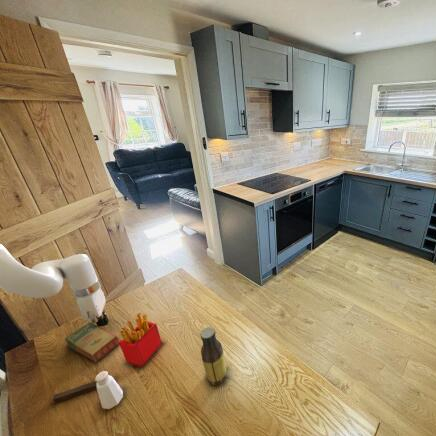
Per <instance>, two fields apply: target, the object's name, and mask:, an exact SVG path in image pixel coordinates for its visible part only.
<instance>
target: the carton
mask: <svg viewBox="0 0 436 436" xmlns="http://www.w3.org/2000/svg"><path fill="white" fill-rule="evenodd" d="M64 339H65V341H66V343H67V345H68V347H69V348H71V349H72V350H74V351H75V352H77V353H79V354H81V355H83V356H84V357H86V358H88V359H89V360H90V361H93V362H94V363H97V362H99V361H100V360H101V359H103V358H104V357H105V356H106V355H107V354H109V353H110V352H111V351H113V350H114V349H115V348H116V347H117V346H118V345H120V344H119V341H120V340H119V338H118V335H116V334H114V333H112V332H110V331H108V330H106V329H105V328H103V327H102V326H101V327H99V326H97V324H96V323H93V324H92V322H91V321H88V322H87V323H86V324H84V325H82V326H81V327H80V328H78V329H77V330H75V331H74V332H72V333H70V334H69V335H67V336H66V337H65V338H64Z"/></svg>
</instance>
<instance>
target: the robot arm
mask: <svg viewBox="0 0 436 436" xmlns="http://www.w3.org/2000/svg"><path fill="white" fill-rule="evenodd" d="M64 280H66V281H67V284H68V286H69V288H70V290H71V292H72V294H73V296H74V298H76V304H77V307H78V311H79V312H80V315H81V317H82V320H83V321H84V322H87V321H88V320H89V318H90V322H92V324H95V325H97V326H99V327H101V328H102V327H105V326H108V324H109V321H110V320H109V318H108V315H107V314H106V310H105V305H106V302H107V298H106V296H105V293H104V291H103V290H102V288H101V287H102V285H101V283H100V279H99V277H98V275H97V272H96V270H95V268H94V266H93V264H92V261H91V259H90V257H89V256H88V255H87V254H84V253H79V254H77V253H76V254H73V255H70V256H68V257H65V258H59V259H52V260H46V261H42V262H39V263H36V264H35V265H34V266H32V267H31V268H29V267H27V266H25V265H23V264H22V263H20V262H19V261H18V260H16V259H15V257H13V256H12V254H11V253H10V252H9V250H8V249H7V248H6V247H5V246H4V245H3V244H1V243H0V289H1V290H3V291H6V292H7V293H11V294H15V295H19V296H23V297H26V298H32V299H48V298H51V297H54V296H55V295H57V294H58V293H60V291H61V290H62V289H63V287H64ZM88 322H89V321H88Z"/></svg>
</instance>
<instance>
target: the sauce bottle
mask: <svg viewBox="0 0 436 436" xmlns="http://www.w3.org/2000/svg"><path fill="white" fill-rule="evenodd" d="M199 335H200V339H201V341H202V346H201V348H200V355H201V360H202V361H201V362H202V365H203V368H204V373H205V376H206V379H207V381H208V383H209V384H210V385H213V386H218V385H220V384H221V383H222V382H224V380H225V379H226V378H227V375H228V372H227V371H228V370H227V364H226V360H225V355H224V348H223V346H222V343H221V341H219V340H218V339H217V337H216V336H217V335H216V330H215V328H214V327H212V326H207V327H204V329H202V330H201V332H200V334H199Z"/></svg>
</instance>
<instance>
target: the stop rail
mask: <svg viewBox="0 0 436 436" xmlns="http://www.w3.org/2000/svg"><path fill="white" fill-rule="evenodd" d="M111 376H112V377H113V378H114V376H113V375H111ZM95 390H97V381H96V380H94V381H92V382H89V383H85V384H83V385H80V386H77V387H73V388H71V389H68V390H65V391H62V392H59V393H56V394H54V396H53V398H52V401H53V403H54V404H58V403H60V402H64V401H66V400H69V399H72V398H75V397H78V396H81V395H84V394H88V393H90V392H92V391H95Z"/></svg>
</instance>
